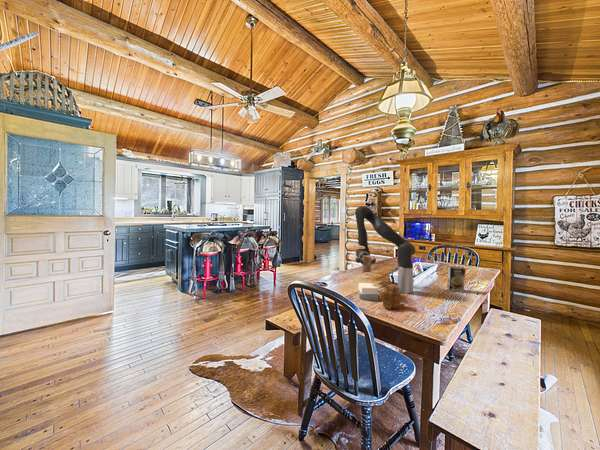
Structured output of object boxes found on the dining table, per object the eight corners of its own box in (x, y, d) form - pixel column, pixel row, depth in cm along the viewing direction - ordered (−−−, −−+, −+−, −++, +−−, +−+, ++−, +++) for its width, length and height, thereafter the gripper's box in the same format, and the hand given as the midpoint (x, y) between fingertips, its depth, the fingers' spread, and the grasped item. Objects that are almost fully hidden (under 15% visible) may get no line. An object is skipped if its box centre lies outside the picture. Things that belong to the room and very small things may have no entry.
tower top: (373, 289, 170) (373, 283, 169) (377, 294, 160) (378, 288, 159) (358, 288, 170) (358, 283, 169) (361, 294, 160) (361, 287, 159)
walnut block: (369, 270, 170) (370, 255, 169) (370, 272, 165) (371, 257, 164) (362, 269, 171) (362, 255, 170) (362, 271, 166) (363, 256, 165)
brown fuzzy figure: (406, 307, 149) (407, 285, 147) (390, 312, 141) (391, 289, 140) (391, 301, 157) (392, 280, 156) (375, 306, 149) (376, 284, 148)
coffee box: (449, 291, 177) (450, 268, 176) (446, 288, 184) (448, 266, 182) (464, 292, 175) (465, 269, 173) (461, 289, 181) (462, 267, 180)
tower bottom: (375, 295, 170) (375, 289, 169) (377, 301, 159) (377, 295, 158) (358, 294, 171) (358, 288, 171) (359, 300, 160) (359, 294, 160)
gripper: (354, 251, 182) (355, 256, 165) (375, 252, 180) (378, 257, 163) (354, 262, 183) (355, 268, 166) (375, 263, 180) (378, 269, 164)
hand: (367, 262), depth 165 cm, fingers closed on walnut block, 5 cm apart
